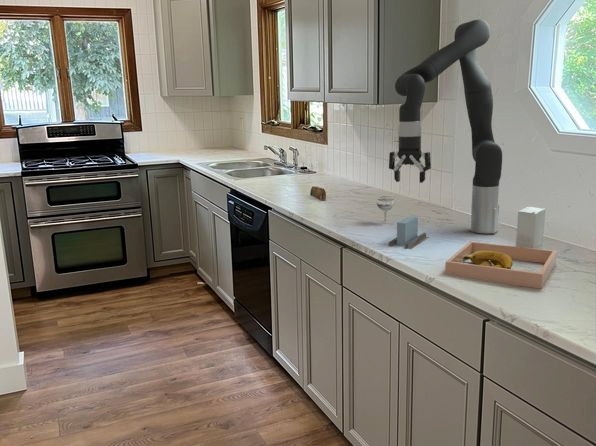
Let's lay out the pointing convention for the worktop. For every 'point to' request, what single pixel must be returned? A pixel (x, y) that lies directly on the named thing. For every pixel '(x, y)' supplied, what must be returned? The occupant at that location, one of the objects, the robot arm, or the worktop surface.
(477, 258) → the banana
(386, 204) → the wineglass
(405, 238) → the door panel
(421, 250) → the worktop surface
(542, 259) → the fruit tray rim
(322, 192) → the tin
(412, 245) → the door track
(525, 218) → the skincare box
